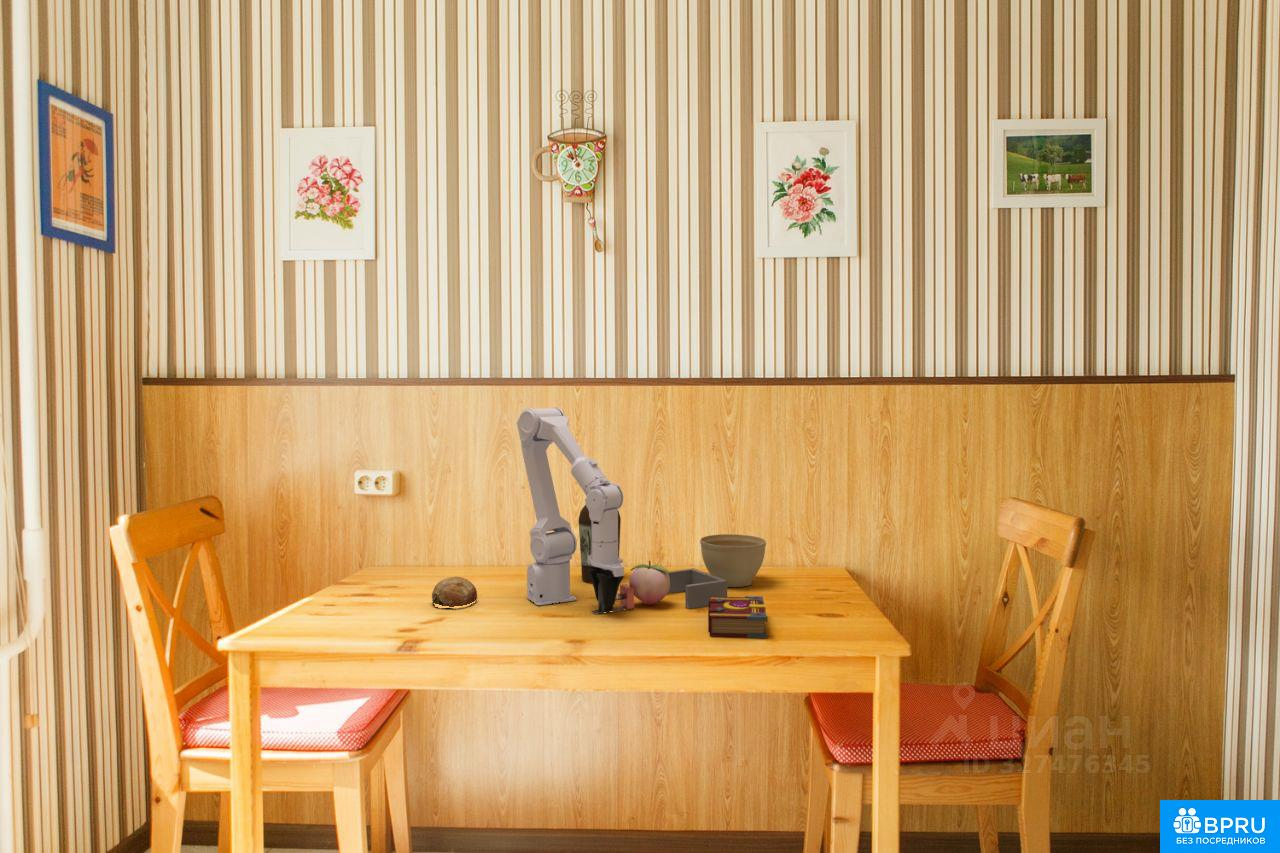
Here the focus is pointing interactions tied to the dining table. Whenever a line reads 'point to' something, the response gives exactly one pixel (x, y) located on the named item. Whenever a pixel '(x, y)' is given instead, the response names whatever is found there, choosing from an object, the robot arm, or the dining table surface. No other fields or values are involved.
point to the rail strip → (612, 610)
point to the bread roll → (454, 592)
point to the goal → (697, 586)
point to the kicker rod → (617, 597)
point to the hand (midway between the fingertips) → (605, 602)
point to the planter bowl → (733, 557)
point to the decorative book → (737, 617)
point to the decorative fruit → (650, 583)
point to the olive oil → (589, 541)
